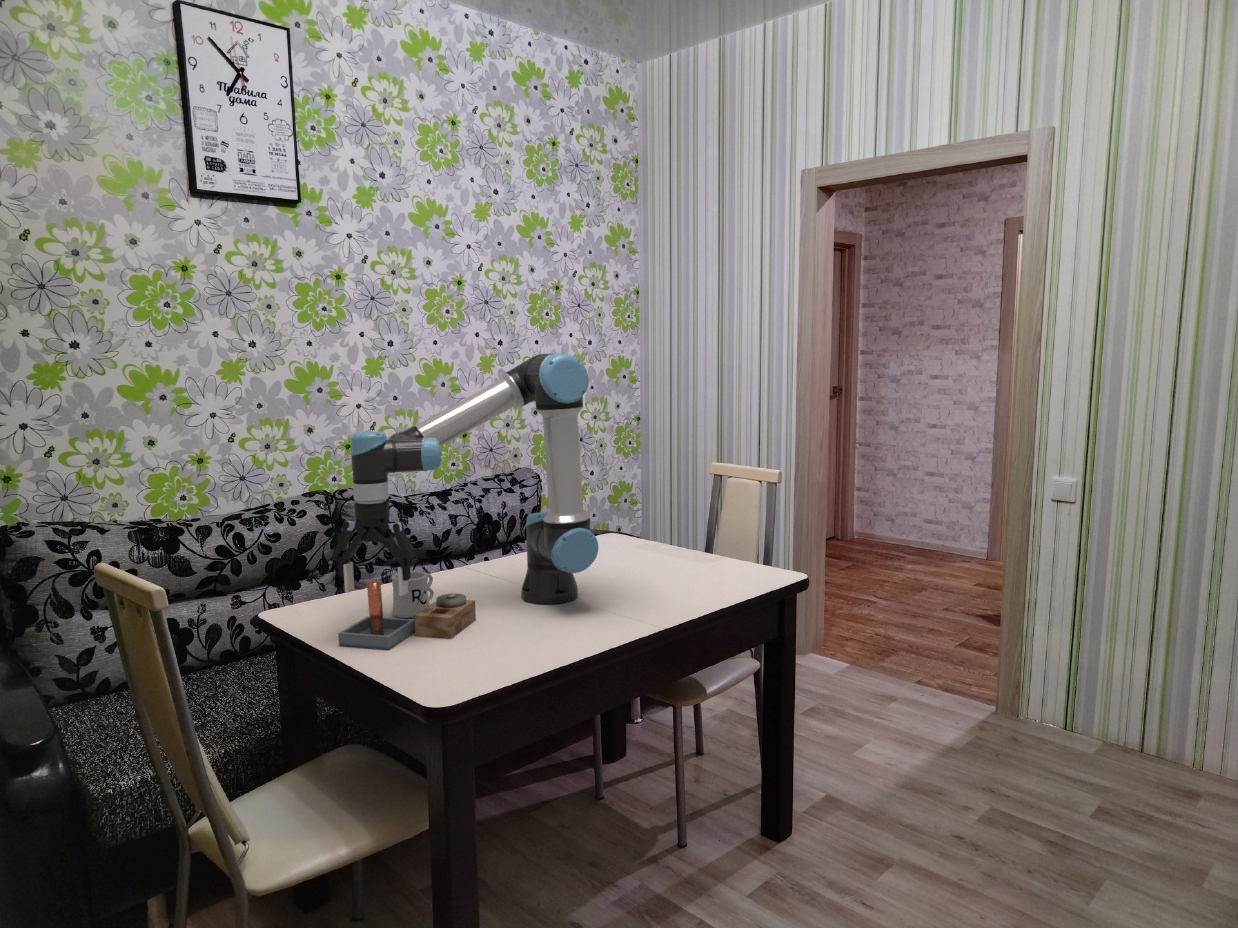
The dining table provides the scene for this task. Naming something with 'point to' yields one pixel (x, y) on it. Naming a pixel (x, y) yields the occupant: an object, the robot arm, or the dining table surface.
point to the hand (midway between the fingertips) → (376, 592)
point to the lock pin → (375, 607)
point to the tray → (363, 638)
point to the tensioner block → (445, 617)
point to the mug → (412, 594)
